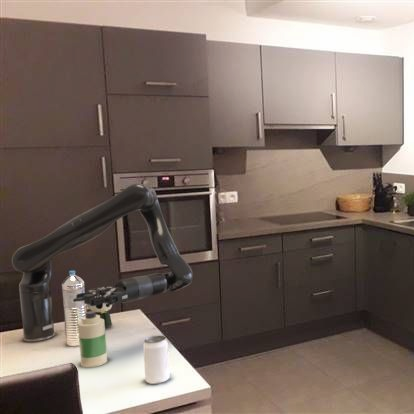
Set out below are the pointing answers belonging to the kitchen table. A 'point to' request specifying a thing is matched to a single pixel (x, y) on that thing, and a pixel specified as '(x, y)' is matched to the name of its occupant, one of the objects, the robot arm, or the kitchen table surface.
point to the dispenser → (92, 340)
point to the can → (156, 359)
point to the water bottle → (73, 307)
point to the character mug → (102, 312)
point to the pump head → (85, 299)
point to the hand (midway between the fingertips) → (83, 300)
